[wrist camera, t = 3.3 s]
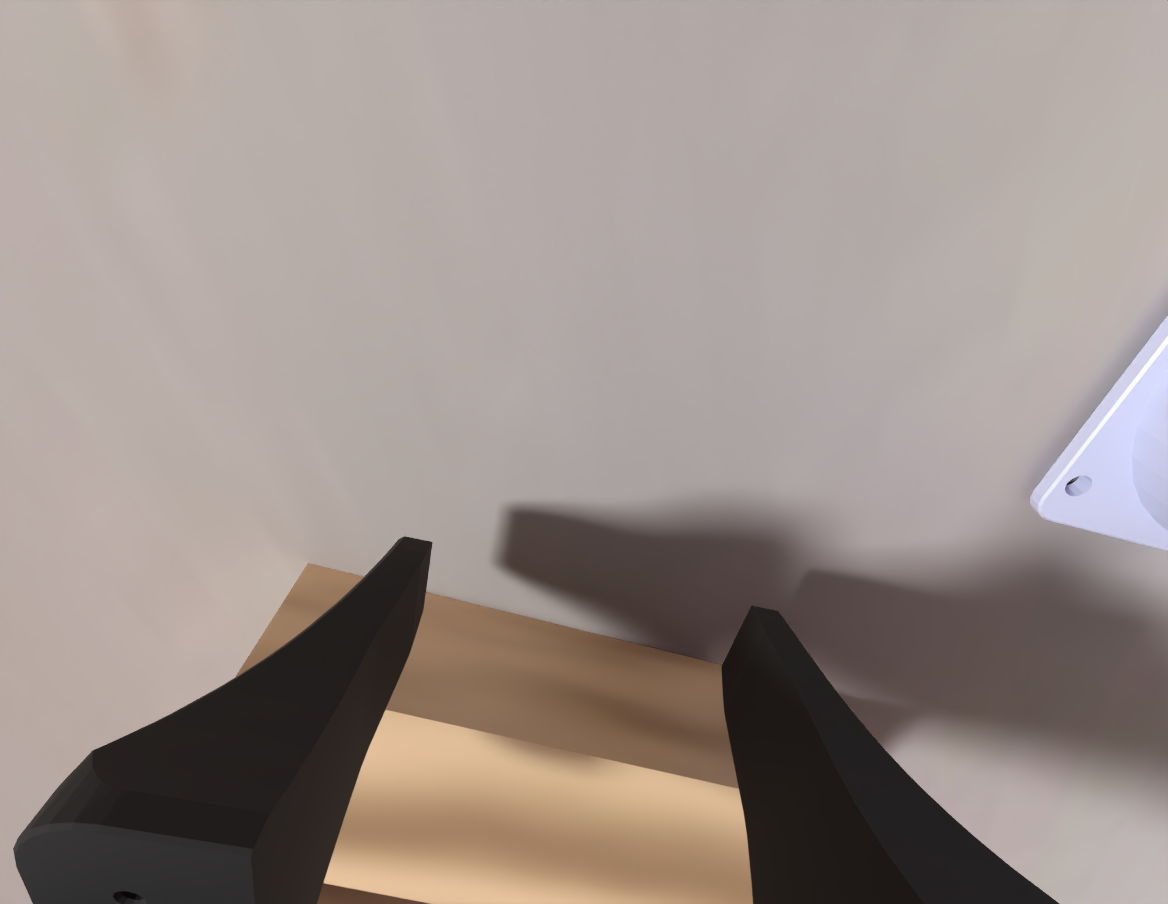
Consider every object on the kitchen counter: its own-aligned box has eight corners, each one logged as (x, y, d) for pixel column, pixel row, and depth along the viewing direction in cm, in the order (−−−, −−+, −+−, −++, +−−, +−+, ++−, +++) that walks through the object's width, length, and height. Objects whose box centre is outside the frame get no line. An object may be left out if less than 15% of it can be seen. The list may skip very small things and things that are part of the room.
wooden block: (314, 553, 17) (235, 676, 13) (799, 674, 18) (842, 812, 15) (295, 734, 21) (231, 865, 17) (696, 821, 22) (711, 957, 19)
